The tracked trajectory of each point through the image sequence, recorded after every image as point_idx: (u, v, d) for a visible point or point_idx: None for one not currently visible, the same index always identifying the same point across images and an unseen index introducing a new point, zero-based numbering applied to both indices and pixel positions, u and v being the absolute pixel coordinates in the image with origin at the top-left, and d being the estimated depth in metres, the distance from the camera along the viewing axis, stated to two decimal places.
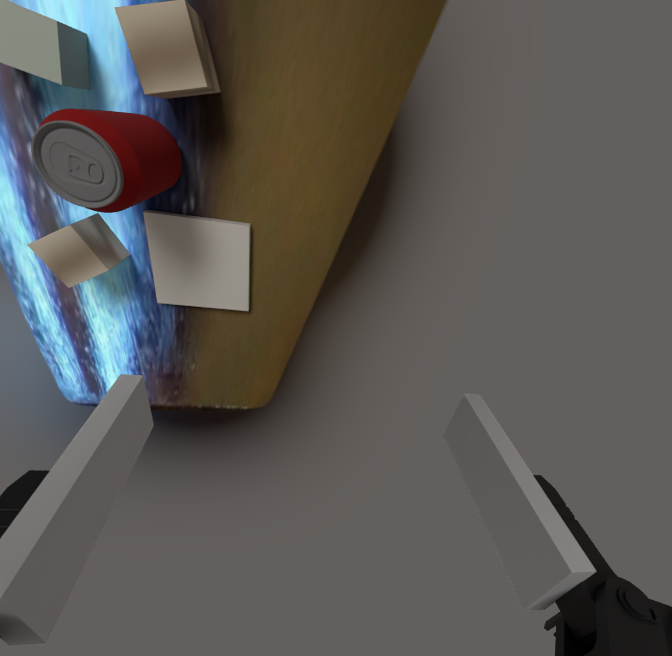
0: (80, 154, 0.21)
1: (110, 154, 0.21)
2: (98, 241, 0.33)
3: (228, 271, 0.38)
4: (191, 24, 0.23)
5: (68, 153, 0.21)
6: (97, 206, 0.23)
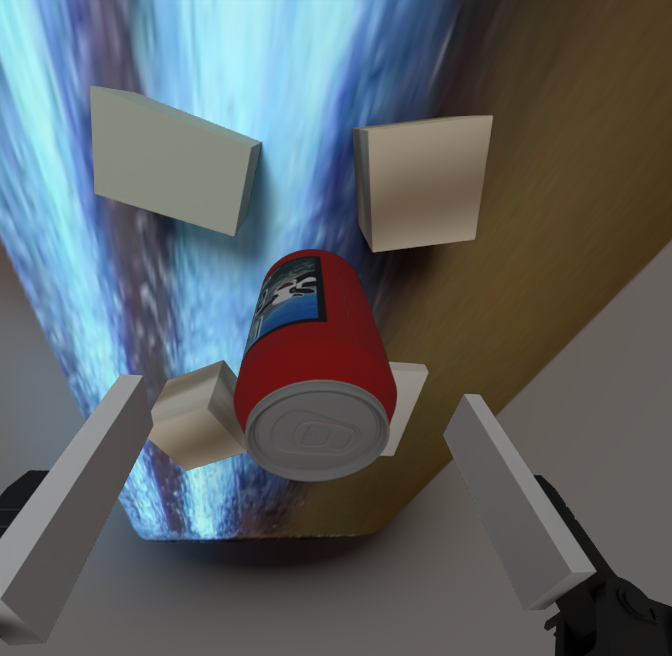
0: (328, 421, 0.11)
1: (382, 420, 0.11)
2: (231, 410, 0.23)
3: None
4: None
5: (308, 421, 0.11)
6: (327, 479, 0.13)
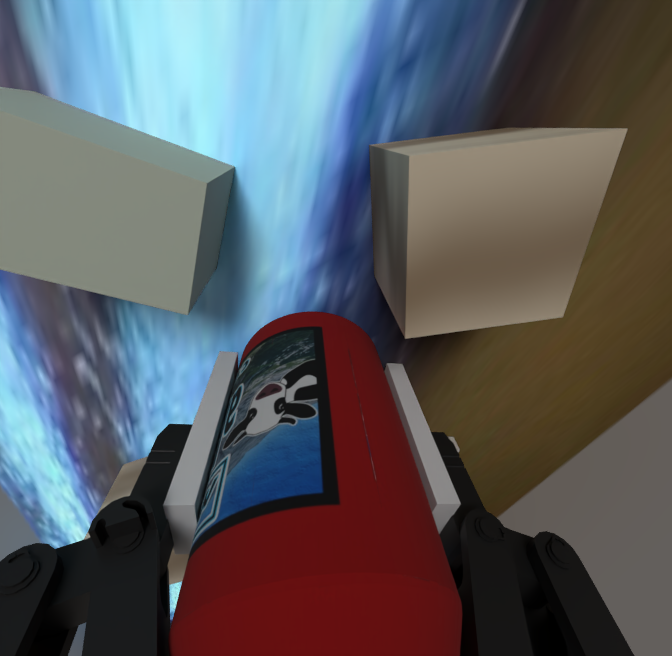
0: None
1: None
2: None
3: None
4: None
5: None
6: None
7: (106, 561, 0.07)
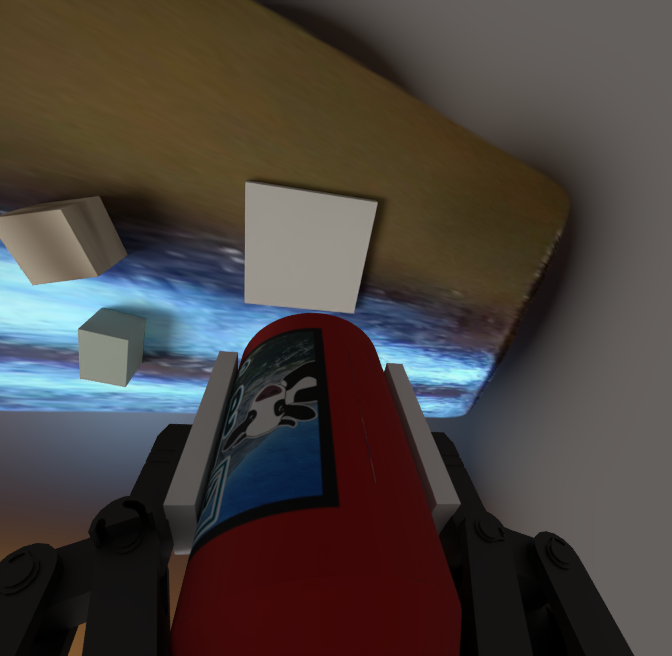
0: None
1: None
2: None
3: (313, 222, 0.27)
4: (8, 215, 0.22)
5: None
6: None
7: (106, 561, 0.07)
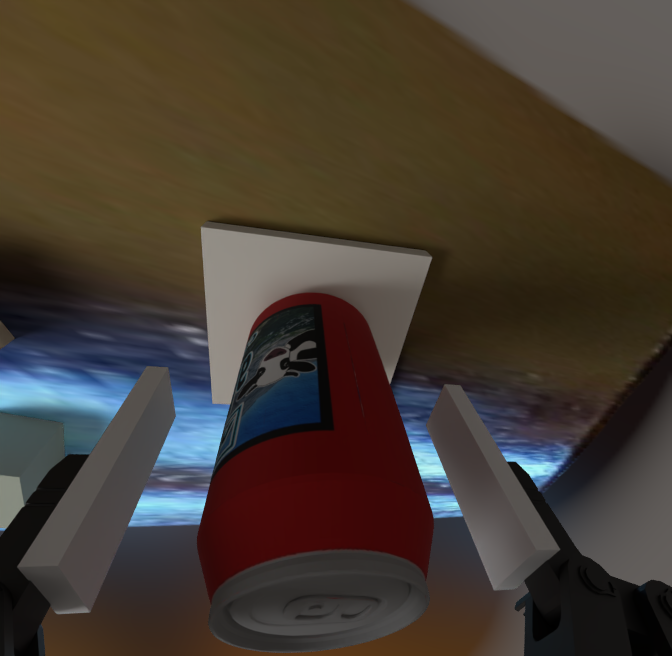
0: (337, 594, 0.07)
1: (419, 588, 0.08)
2: None
3: (321, 289, 0.16)
4: None
5: (307, 595, 0.07)
6: (334, 647, 0.09)
7: None
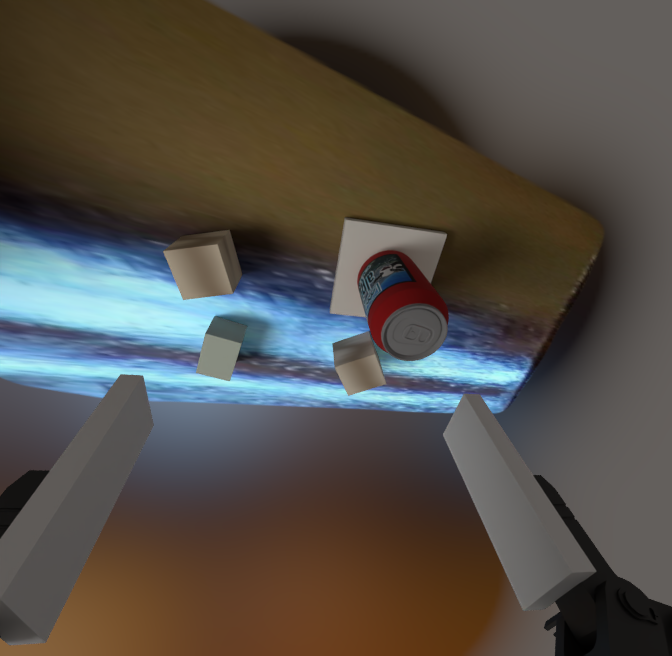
0: (420, 325, 0.25)
1: (444, 325, 0.25)
2: (351, 352, 0.38)
3: (394, 249, 0.34)
4: (177, 248, 0.29)
5: (411, 324, 0.25)
6: (414, 359, 0.27)
7: None
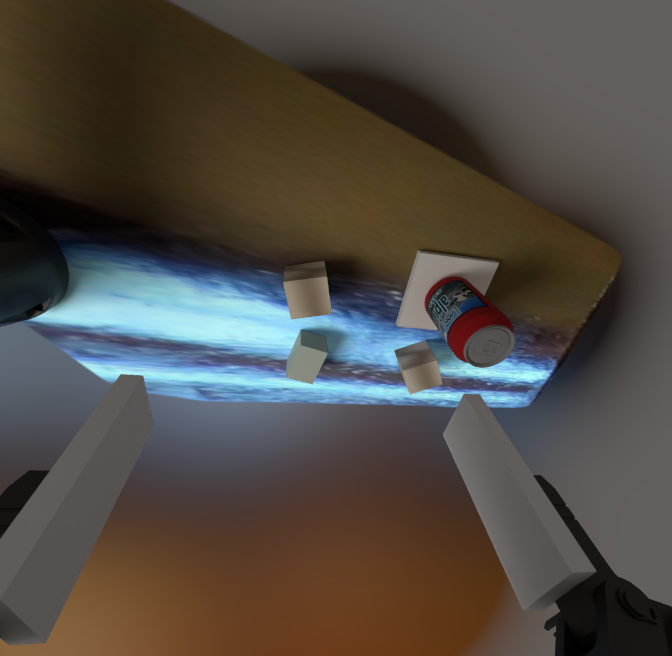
0: (494, 340, 0.33)
1: (512, 340, 0.33)
2: (414, 358, 0.46)
3: (455, 275, 0.42)
4: (294, 279, 0.36)
5: (488, 340, 0.33)
6: (486, 366, 0.34)
7: None
